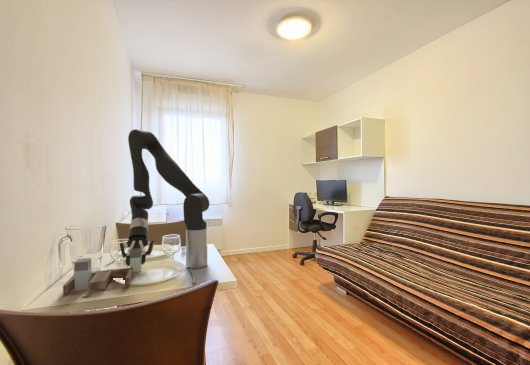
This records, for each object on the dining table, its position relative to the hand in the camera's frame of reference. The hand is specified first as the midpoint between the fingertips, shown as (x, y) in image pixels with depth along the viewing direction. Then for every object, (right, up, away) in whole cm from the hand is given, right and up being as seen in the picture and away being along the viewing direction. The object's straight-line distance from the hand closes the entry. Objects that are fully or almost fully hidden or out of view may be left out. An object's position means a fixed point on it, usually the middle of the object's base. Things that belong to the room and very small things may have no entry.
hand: (135, 264), depth 106 cm
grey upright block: (-1, -4, +2) cm, 5 cm away
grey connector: (-11, -4, -15) cm, 19 cm away
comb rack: (-6, -4, -13) cm, 15 cm away
